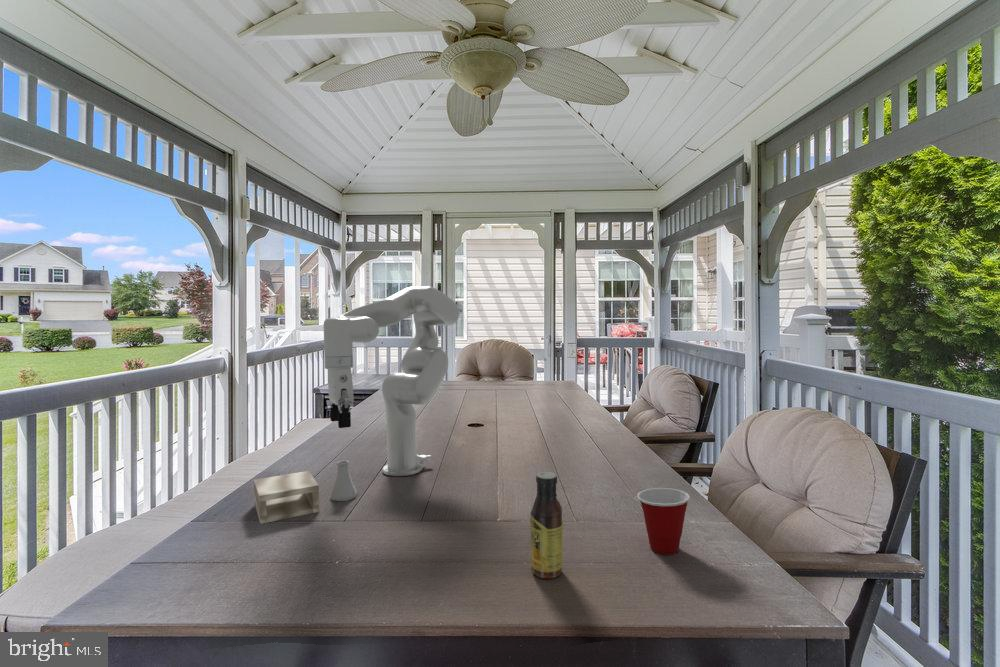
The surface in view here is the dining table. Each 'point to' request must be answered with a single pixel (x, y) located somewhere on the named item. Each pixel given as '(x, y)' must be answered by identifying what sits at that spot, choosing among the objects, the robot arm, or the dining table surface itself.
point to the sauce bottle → (546, 528)
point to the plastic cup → (664, 517)
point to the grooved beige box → (286, 496)
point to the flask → (343, 484)
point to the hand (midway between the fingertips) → (340, 424)
